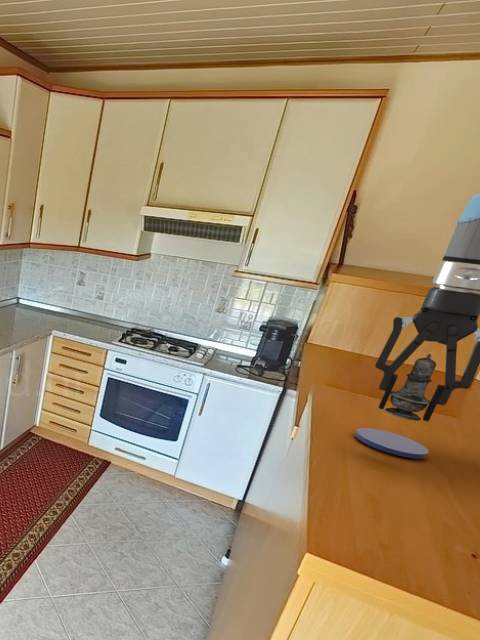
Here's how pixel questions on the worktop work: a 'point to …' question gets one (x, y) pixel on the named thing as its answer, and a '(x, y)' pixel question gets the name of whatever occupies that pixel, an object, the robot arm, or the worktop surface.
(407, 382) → the grey tall tiered piece
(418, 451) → the plate
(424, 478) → the worktop surface
